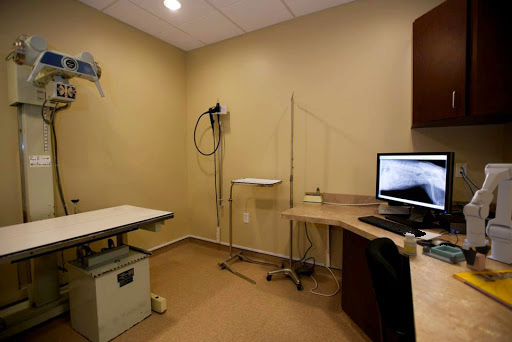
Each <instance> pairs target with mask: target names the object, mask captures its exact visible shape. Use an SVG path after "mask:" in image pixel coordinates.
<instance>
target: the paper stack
mask: <svg viewBox="0 0 512 342" xmlns="http://www.w3.org/2000/svg"><path fill="white" fill-rule="evenodd" d="M419 230H420V231H422V232H425V233H426V235H424V236H421V237H416V238H417V239H418V238H419V239H422V240H426V241H429V240H431V239H434V238H439V237H440V236H441V237H442V234H440V233H435V232H432V231H431V232H430V231H427V230H422V229H419Z"/></svg>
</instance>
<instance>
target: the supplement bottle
mask: <svg viewBox="0 0 512 342" xmlns="http://www.w3.org/2000/svg"><path fill="white" fill-rule="evenodd" d="M405 233H406V234H404V235H405V236H404V238H403V253H404V254H406V255H408V256H417V254H418V253H417V252H418V249H417V239H416V237H415V235H414V234H411V233H408V232H405Z"/></svg>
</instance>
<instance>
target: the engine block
mask: <svg viewBox="0 0 512 342" xmlns="http://www.w3.org/2000/svg"><path fill="white" fill-rule="evenodd" d="M465 267H467V268H469V269H472V270H475V271H478V272H480V271H482V270H486V260H485V255H484V254H480V253H477V254H476V257H475V262H474V266H471V265H468V264H467V263H466V264H465Z"/></svg>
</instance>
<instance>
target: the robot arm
mask: <svg viewBox="0 0 512 342" xmlns="http://www.w3.org/2000/svg"><path fill="white" fill-rule="evenodd" d="M484 174H485V180H484V182H483V183H482V186H481V187H482V188H481V189H479V190H476V191H475V193H474V196H473V197H472V199H471V200H470V202H469V203H468V204H465V205H464V207H463V210H462V211H463V212H462V213H463V215H464V219H465V221H466V238H465V239H463V243H462V246H459V249H460V250H461V251H462V252H463V254H464V256H465V259H466V260H465V262H466V263H467V264H468V265H471V266H474V262H475V257H476V254H477V253H480V254H484V255H485V261H486V259H491V260H494V261H497V262H501V263H504V264H508V265H509V264H510V265H511V264H512V163H488V164H487V165H485V168H484ZM496 187H498V189H497V197H496V198H497V200H496V210H495V218H493V219H490V220H488V222H487V226H486V219H487V218H488V216H489V213H490V205H491V202H492V201H493V199H494V197H495V196H494V194H493V192H494V191H495V190H496ZM486 235H487V236H488V237H489V239H490V240H491V246H490V240H489V239H486ZM490 251H491V254H490V255H488V254H489V253H490Z"/></svg>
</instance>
